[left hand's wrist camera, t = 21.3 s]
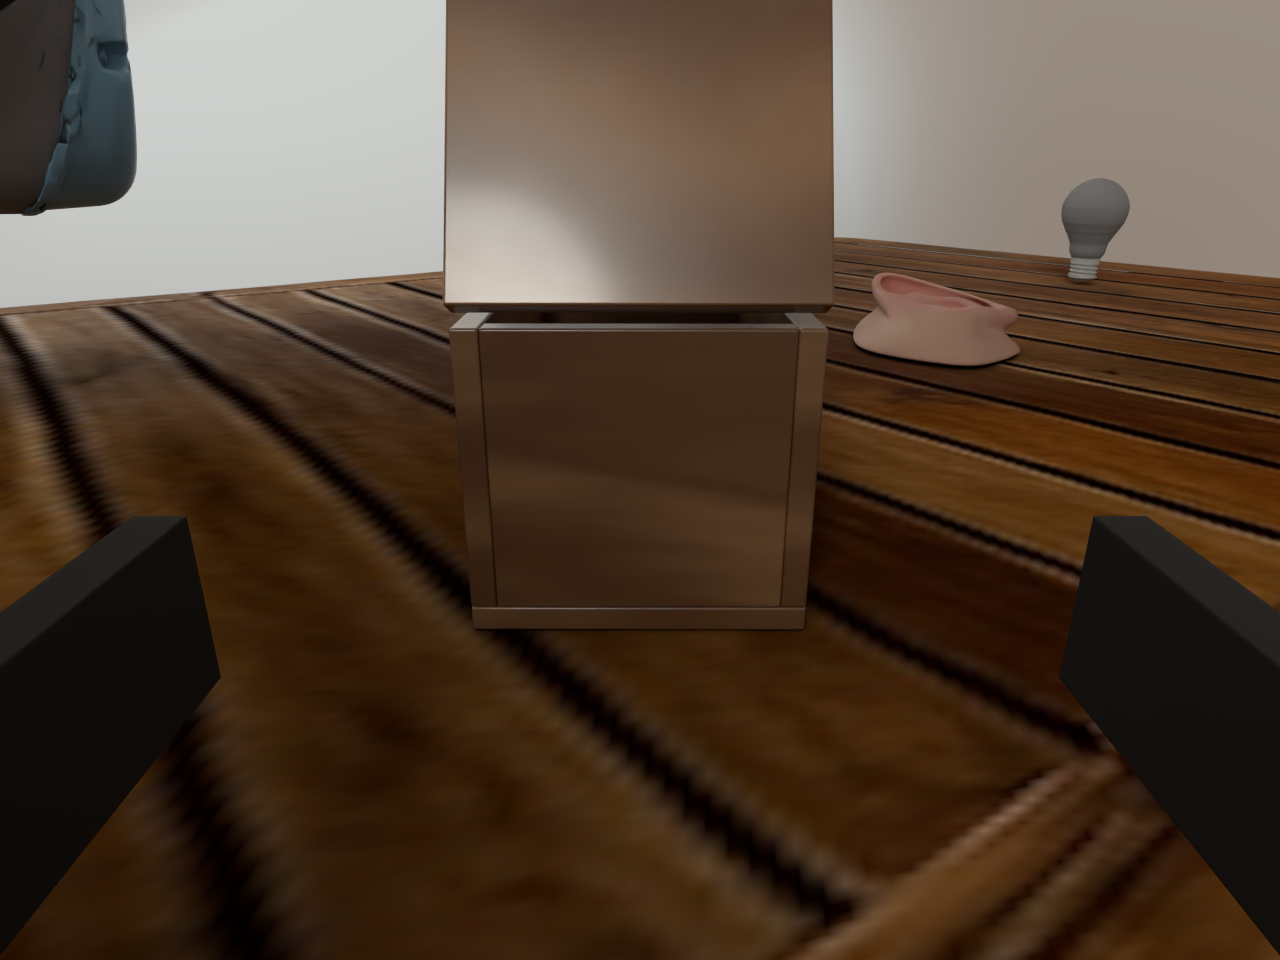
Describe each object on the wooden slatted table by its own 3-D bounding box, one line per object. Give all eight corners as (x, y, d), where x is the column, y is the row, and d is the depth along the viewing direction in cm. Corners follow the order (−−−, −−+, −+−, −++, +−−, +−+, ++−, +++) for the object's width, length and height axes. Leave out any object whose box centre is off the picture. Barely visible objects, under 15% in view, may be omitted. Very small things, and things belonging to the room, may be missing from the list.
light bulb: (1060, 285, 85) (1080, 179, 81) (1041, 276, 90) (1058, 177, 86) (1124, 286, 84) (1146, 179, 80) (1100, 277, 89) (1120, 177, 86)
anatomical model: (1030, 307, 50) (836, 294, 54) (1019, 372, 52) (831, 355, 56) (1029, 277, 62) (869, 269, 66) (1020, 332, 63) (864, 320, 67)
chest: (534, 454, 38) (525, 257, 35) (745, 454, 38) (755, 257, 35) (472, 630, 24) (448, 328, 21) (804, 630, 24) (829, 328, 21)
